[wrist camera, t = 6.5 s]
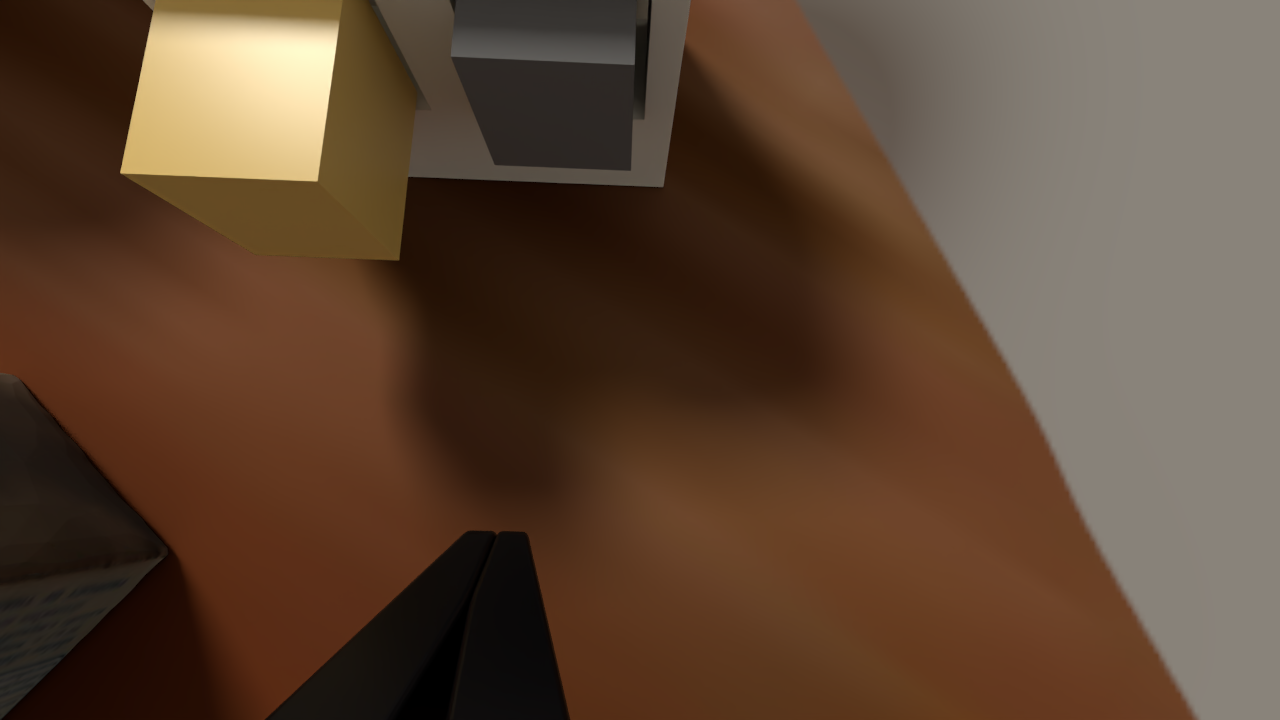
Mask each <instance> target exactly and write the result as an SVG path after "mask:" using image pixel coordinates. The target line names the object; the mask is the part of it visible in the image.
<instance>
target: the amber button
mask: <svg viewBox="0 0 1280 720" xmlns="http://www.w3.org/2000/svg"><path fill="white" fill-rule="evenodd" d="M416 101H417V91H416V89H415V87H414V85H413V83H412V81H411V79H410V77H409V76H408V74H407V72H406V70H405V68H404V66H403V64H402V62H401V61H400V59H399V57H398V55H397V53H396V51H395V49H394V47H393V45H392V44H391V42H390V40H389V38H388V36H387V34H386V32H385V30H384V29H383V27H382V25H381V23H380V21H379V19H378V17H377V15H376V13H375V12H374V10H373V8H372V6H371V4H370V2H369V0H156V1H155V6H154V11H153V16H152V20H151V25H150V30H149V35H148V40H147V45H146V50H145V55H144V59H143V64H142V69H141V74H140V79H139V84H138V89H137V94H136V98H135V103H134V108H133V113H132V118H131V123H130V128H129V133H128V137H127V142H126V147H125V152H124V157H123V162H122V167H121V171H120V174H122V175H124V176H125V177H127V178H129V179H130V180H132V181H134V182H135V183H137V184H139V185H140V186H142V187H144V188H145V189H147V190H149V191H150V192H152V193H154V194H155V195H157V196H159V197H160V198H162V199H164V200H165V201H167V202H168V203H170V204H172V205H173V206H175V207H177V208H178V209H180V210H182V211H183V212H185V213H187V214H188V215H190V216H192V217H193V218H195V219H197V220H198V221H200V222H202V223H203V224H205V225H207V226H208V227H210V228H212V229H213V230H215V231H217V232H218V233H220V234H222V235H223V236H225V237H227V238H228V239H230V240H232V241H233V242H235V243H236V244H238V245H240V246H241V247H243V248H245V249H246V250H248V251H250V252H251V253H253V254H255V255H267V256H293V257H320V258H346V259H372V260H399V257H400V248H401V238H402V229H403V220H404V211H405V202H406V192H407V183H408V174H409V165H410V156H411V146H412V137H413V128H414V119H415V110H416Z"/></svg>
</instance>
